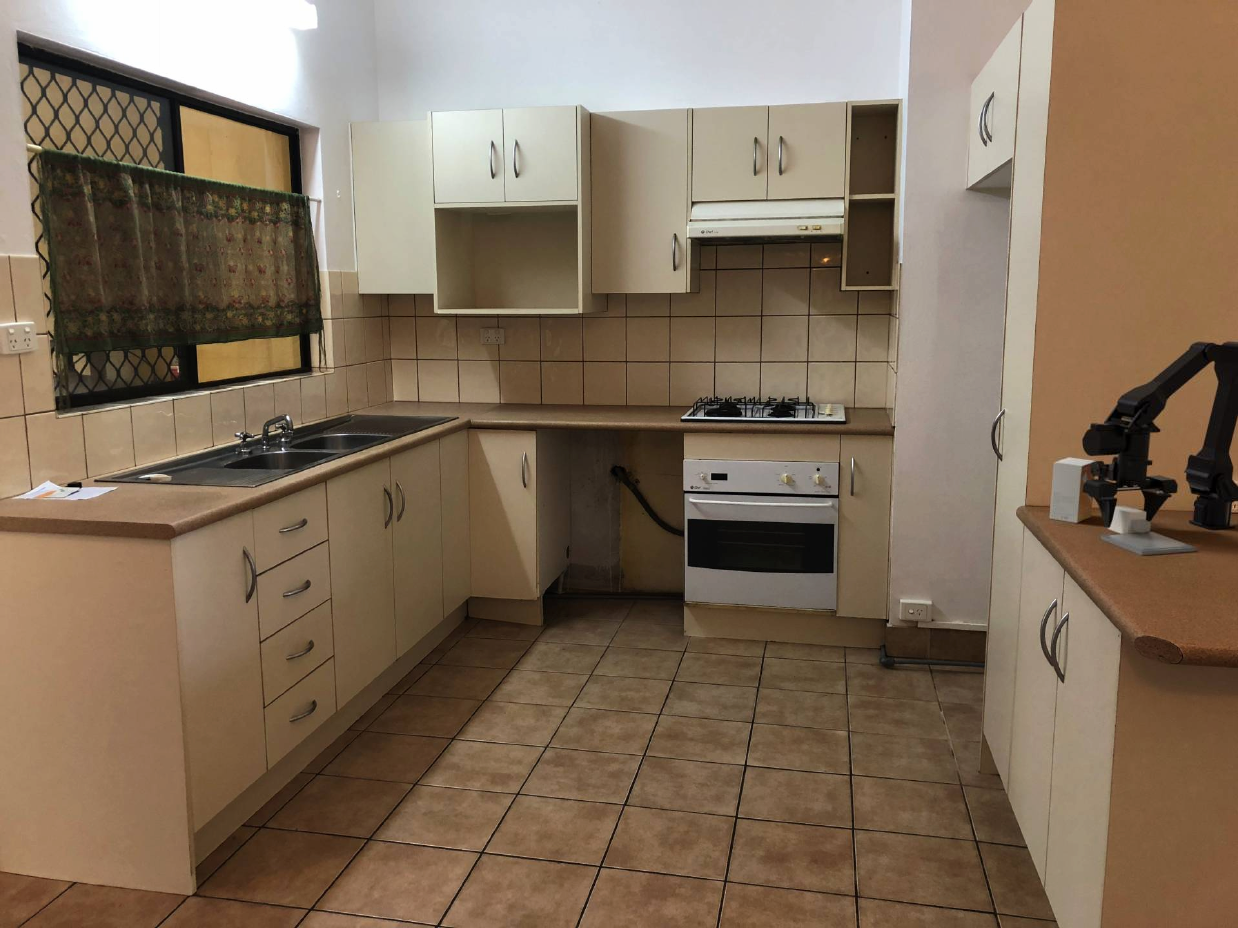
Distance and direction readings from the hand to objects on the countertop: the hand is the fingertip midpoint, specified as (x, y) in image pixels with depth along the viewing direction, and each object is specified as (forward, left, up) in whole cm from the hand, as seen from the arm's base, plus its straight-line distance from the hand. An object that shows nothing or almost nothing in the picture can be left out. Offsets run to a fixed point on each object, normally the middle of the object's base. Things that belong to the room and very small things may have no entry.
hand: (1126, 525), depth 210 cm
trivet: (+3, +10, -1) cm, 11 cm away
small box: (+4, -13, -2) cm, 14 cm away
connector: (0, +1, -1) cm, 2 cm away
